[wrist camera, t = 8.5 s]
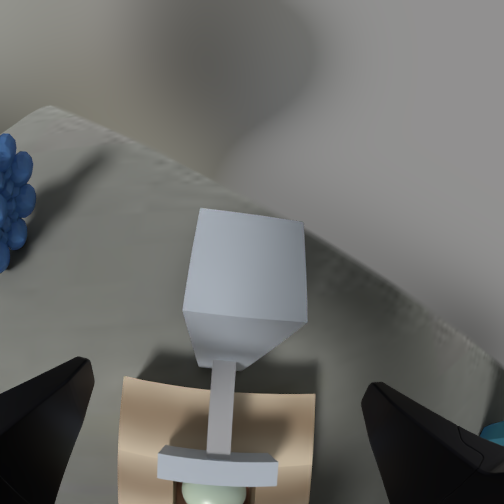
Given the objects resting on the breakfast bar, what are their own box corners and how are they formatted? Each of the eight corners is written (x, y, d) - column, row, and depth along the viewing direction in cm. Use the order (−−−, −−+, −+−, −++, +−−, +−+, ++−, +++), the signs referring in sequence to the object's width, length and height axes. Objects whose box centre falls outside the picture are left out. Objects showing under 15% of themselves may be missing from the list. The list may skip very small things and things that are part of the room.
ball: (250, 462, 12) (241, 467, 15) (181, 457, 12) (185, 463, 15) (251, 520, 9) (241, 515, 12) (178, 516, 9) (182, 511, 12)
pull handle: (257, 462, 15) (346, 554, 3) (170, 456, 14) (110, 549, 3) (264, 333, 20) (348, 229, 8) (182, 324, 19) (150, 202, 8)
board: (291, 523, 12) (304, 538, 10) (130, 512, 11) (120, 527, 9) (300, 394, 18) (315, 393, 16) (135, 379, 17) (124, 376, 14)
